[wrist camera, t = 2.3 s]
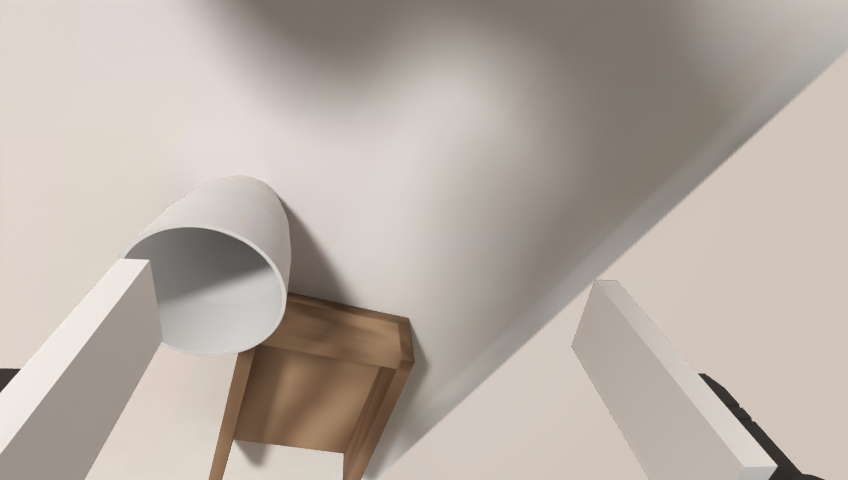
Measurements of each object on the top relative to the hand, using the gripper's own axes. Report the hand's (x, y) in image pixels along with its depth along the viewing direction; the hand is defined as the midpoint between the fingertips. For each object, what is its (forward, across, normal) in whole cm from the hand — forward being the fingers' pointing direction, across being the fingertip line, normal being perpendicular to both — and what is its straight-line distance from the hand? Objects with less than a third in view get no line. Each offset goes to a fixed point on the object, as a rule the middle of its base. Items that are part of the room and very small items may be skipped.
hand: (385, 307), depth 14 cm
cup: (+19, -8, -6) cm, 22 cm away
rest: (+19, -4, -22) cm, 29 cm away
